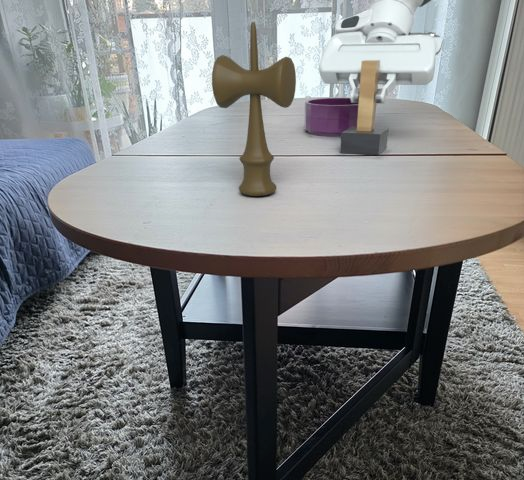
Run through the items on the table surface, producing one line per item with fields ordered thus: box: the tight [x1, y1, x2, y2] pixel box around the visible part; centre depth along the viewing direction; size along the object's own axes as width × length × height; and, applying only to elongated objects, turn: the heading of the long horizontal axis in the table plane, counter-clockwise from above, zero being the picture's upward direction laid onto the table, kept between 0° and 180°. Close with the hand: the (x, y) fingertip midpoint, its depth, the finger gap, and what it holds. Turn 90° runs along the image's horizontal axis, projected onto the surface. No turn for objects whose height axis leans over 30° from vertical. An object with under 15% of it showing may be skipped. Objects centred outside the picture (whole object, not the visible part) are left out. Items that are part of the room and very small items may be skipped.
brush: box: [339, 60, 390, 156], centre depth 90 cm, size 7×7×14 cm
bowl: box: [304, 97, 359, 137], centre depth 111 cm, size 14×14×6 cm
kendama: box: [211, 21, 297, 197], centre depth 65 cm, size 6×10×20 cm, turn 68°
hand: (367, 100), depth 89 cm, fingers open, 3 cm apart
